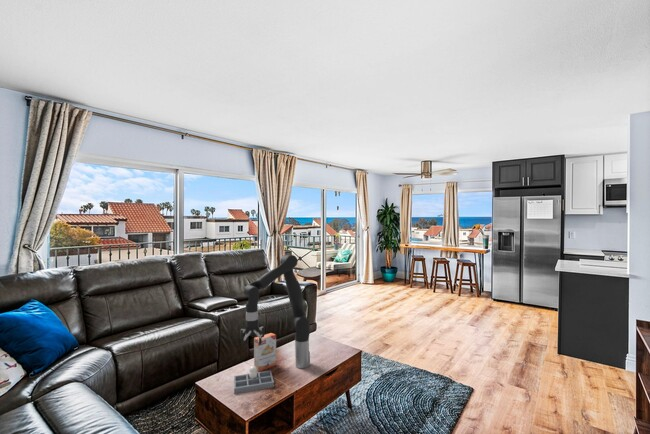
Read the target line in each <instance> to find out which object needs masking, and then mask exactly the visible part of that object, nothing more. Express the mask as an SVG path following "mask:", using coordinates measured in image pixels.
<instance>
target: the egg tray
mask: <svg viewBox="0 0 650 434" xmlns="http://www.w3.org/2000/svg"><path fill="white" fill-rule="evenodd" d="M274 387H275V381H274V377H273V374H272V370H265V371H264V370H263V371H260V372H258V371H257V378H255V379H249V373H247V374H240V375H234V376H233V391H234V392H233V394H240V393H246V392H251V391H252V392H253V391H258V390H263V389H269V388H274Z"/></svg>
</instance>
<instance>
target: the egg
mask: <svg viewBox="0 0 650 434" xmlns="http://www.w3.org/2000/svg"><path fill="white" fill-rule="evenodd" d="M257 373H258V371H257V368H256V367H255V366H254V365H251V366H250V367H249V369H248V374H249V379H255V378H257Z"/></svg>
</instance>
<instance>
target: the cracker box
mask: <svg viewBox="0 0 650 434" xmlns="http://www.w3.org/2000/svg"><path fill="white" fill-rule="evenodd" d="M261 341H262V343H260V345H259V337H258V336H255V337H254V338H253V359H254V361H253V366H255V367H256V368H257V373H258V372H263V371H264V370H265V371H266V370H267V369H269V368H273V367H275V366H277V334H275V333H272V332H270V333H266V334H264V337H262V338H261Z"/></svg>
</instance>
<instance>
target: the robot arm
mask: <svg viewBox="0 0 650 434" xmlns="http://www.w3.org/2000/svg"><path fill="white" fill-rule="evenodd" d="M298 262H299V261H298V258H297V257H296V255H294V254H284V255H282V256H281V257H280V259H279V263H280V264H279V265H278V266H277V267H274V268H273V269H271V270H269V271H267V272H266V273H264V274H263V275H261V276H260V277H259V278H257V279H256V280H254V281H252V282H250V283H249V284H247V285H246V286H245V287H244V288H243V289H244V290H243V294H244V295H245V297H248V301H247V302H246V303H245V328H240V340H241V341H243V346H245V347H247V338H248V337H249V336H250V337H252V336H256V337H259V345H260V343H262V341H261V338H262V337H264V335H265V327H264V326H260V325H259V307H258V303H259V298H260V290H263V289H265V288H267V287H268V286H269V285H270V284H272V283H273V282H274V281H276V280H277V279H279V278H280V277H281V276H283V277H284V281H285V286H286V291H287V296H288V299H289V302H290V303H289V304H290V306H291V310H292V313H293V314H292V315H293V324H294V326H295V336H294V342H295V343H294V346H295V347H294V348H295V349H294V350H295V351H294V353H295V355H294V356H295V362H294V363H295V367H296V368H298V369H307V368H308V367H311V352H310V335H311V333H310V331H311V329H310V327H311V326H310V321H309V318H308V317H307V316H306V313H305V310H304V306H303V305H304V304H303V291H302V287H301V284H300V282H299V281H298V278H297V277H296V275H295V273H294V269H295V268H296V266H297V265H298ZM259 326H260V327H259ZM259 331H260V332H261V333H260V332H259ZM244 333H245V335H244ZM243 335H244V336H243Z"/></svg>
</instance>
